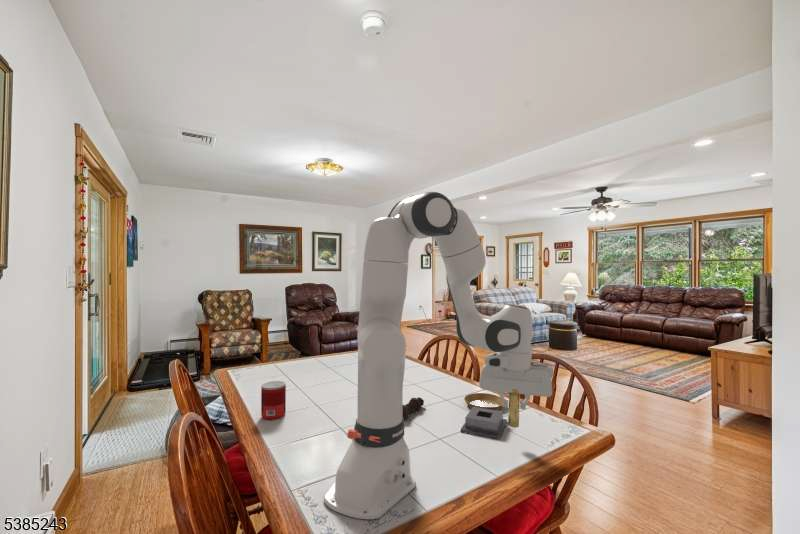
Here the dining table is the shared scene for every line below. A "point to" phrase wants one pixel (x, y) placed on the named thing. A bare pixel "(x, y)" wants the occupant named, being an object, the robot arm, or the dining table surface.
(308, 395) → the dining table surface
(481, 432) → the grey socket base
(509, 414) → the pin
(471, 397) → the plant saucer
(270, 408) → the canned food
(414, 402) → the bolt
